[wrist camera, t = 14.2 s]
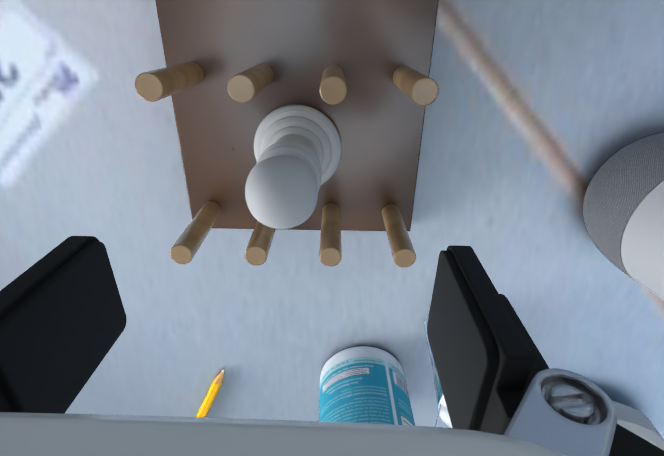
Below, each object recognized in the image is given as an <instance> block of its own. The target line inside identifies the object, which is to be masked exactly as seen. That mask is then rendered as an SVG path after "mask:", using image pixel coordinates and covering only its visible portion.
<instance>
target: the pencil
mask: <svg viewBox="0 0 664 456" xmlns="http://www.w3.org/2000/svg"><path fill="white" fill-rule="evenodd" d="M223 377H224V369H223V370H222V371H221V372H220V374H219V375H218V376H217V377H216V378H215V379H214V381H213V383H212V385H211V387H210V389H209V391H208V393H207V395H206V398H205V400H204V402H203V404H202V406H201V408H200V410H199V412H198V414H197V416H196V417H201V418H205V417H206V415H207V413H208V411H209V409H210V407H211V405H212V403H213V401H214V399H215V397H216V395H217V393H218V391H219V389H220V387H221V385H222V383H223Z"/></svg>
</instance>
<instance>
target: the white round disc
mask: <svg viewBox="0 0 664 456" xmlns="http://www.w3.org/2000/svg"><path fill="white" fill-rule="evenodd" d="M613 403H614V406H615V408H616V410H617V424H619V425H621V426H622V427H624V428H626V429H627V430H629V431H631V432H633V433H634V434H636V435H638V436H640V437H641V438H643V439H645V440H646V441H648V442H650V443H652V444H653V445H655V446H657V447H659V448H660V449H662V450H664V440H663V438H662V437H661V435H660V434H659V432H658V431H657V430H656V428H655V427H654V425H653V424H652V422H651V421H650V420H649V419H648V418H647V417H646V416H645V415H644V414H643V413H642V412H641V411H639V410H636V409H634V408H631V407H629V406H626V405H624V404H621V403H618V402H614V401H613Z"/></svg>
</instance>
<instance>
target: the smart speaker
mask: <svg viewBox="0 0 664 456" xmlns="http://www.w3.org/2000/svg"><path fill="white" fill-rule="evenodd" d="M583 218H584V223H585V226H586V229H587V232H588V234H589V236H590V238H591V239H592V241H593V242H594V244H595V245H596V247H597V248H598V249H599V250H600V252H601V253H602V254H603V255H604V256H605V257H606V258H607V259H608V260H609V261H610V262H612V263H613V264H614V265H615V266H616V267H618V268H619V269H620V270H621V271H623V272H624V273H625V274H627V275H628V276H629V277H630V278H632V279H633V280H635V281H636V282H637V283H639V284H640V285H642V286H643V287H645V288H646V289H648V290H649V291H650V292H652V293H653V294H655V295H656V296H658V297H659V298H661V299H662V300H664V132H661V133H657V134H653V135H650V136H647V137H644V138H641V139H639V140H636V141H634V142H632V143H630V144H628V145H627V146H625V147H623V148H622V149H620V150H619V151H618V152H616V153H615V154H614V155H612V156H611V157H610V158H609V159H608V160H607V161H606V162H605V163H604V164H603V165H602V166H601V167H600V168H599V170H598V171H597V172H596V174H595V175H594V177H593V178H592V180H591V182H590V184H589V186H588V188H587V190H586V193H585V197H584V203H583Z"/></svg>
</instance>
